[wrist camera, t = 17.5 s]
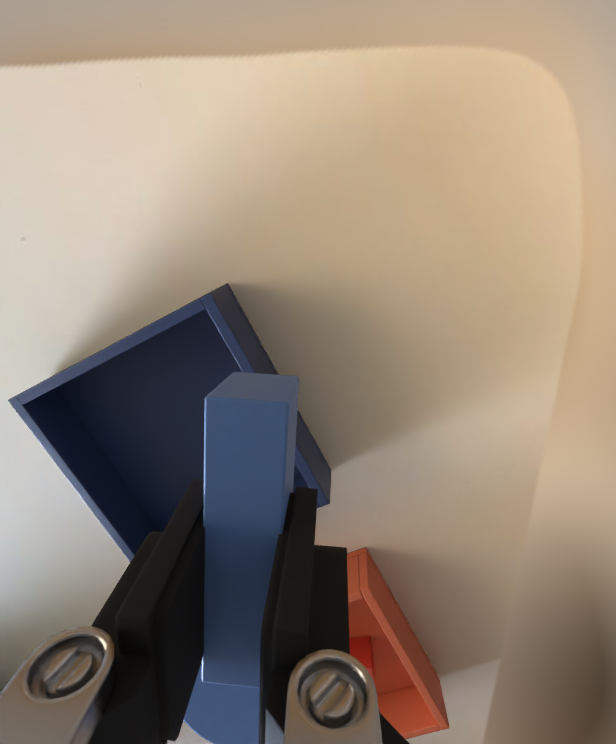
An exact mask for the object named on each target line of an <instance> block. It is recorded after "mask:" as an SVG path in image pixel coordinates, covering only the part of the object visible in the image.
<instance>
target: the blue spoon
mask: <svg viewBox="0 0 616 744" xmlns="http://www.w3.org/2000/svg"><path fill="white" fill-rule="evenodd" d="M298 390H299V377H297V376H288V375H273V374H259V373H244V372H233V373H232V374H231V375H230V376H229V377H227V378H226V379H225V380H224V381H223V382H222V383H221V384H220V385H218V386H217V387H216V388H215V389H214V390H213V391H212V392H211V393H209V394H208V395H207V396H206V397H205V412H204V509H203V526H204V527H205V579H204V655H203V659H202V662H201V665H200V668H199V671H198V675H197V678H196V681H195V684H194V688H193V691H192V694H191V697H190V700H189V704H188V707H187V710H186V713H185V716H184V721H185V722H186V724H187V725H188V726H189V727H190V728H191V729H192V730H194V731H195V732H196V733H197V734H198V735H200V736H201V737H203V738H204V739H206V740H208V741H210V742H212V743H213V744H259V691H260V641H261V629H262V620H263V614H264V609H265V603H266V598H267V593H268V588H269V582H270V577H271V572H272V567H273V562H274V556H275V551H276V546H277V541H278V536H279V534H282V533H283V529H284V524H285V518H286V513H287V507H288V502H289V496H290V493H293V480H294V462H295V444H296V426H297V408H298Z"/></svg>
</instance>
